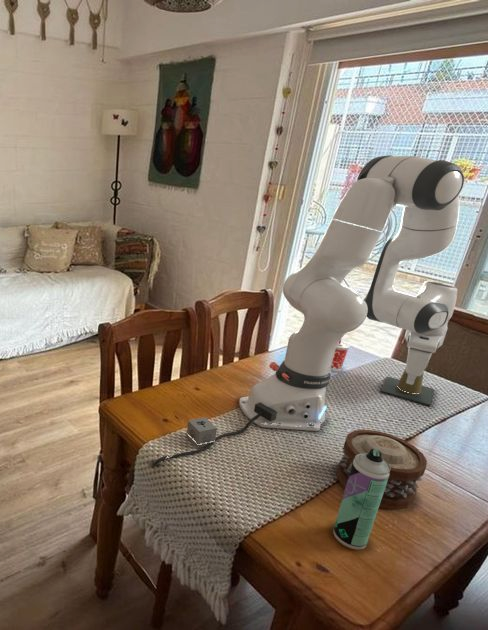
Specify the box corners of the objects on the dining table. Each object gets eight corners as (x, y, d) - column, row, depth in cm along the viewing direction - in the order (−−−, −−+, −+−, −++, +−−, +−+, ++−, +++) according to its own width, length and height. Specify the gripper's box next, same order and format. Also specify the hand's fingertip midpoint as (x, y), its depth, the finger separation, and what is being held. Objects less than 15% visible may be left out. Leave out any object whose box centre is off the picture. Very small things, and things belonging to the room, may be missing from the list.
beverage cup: (318, 365, 150) (327, 327, 145) (332, 363, 152) (341, 325, 147) (333, 373, 145) (343, 334, 140) (348, 371, 146) (358, 332, 141)
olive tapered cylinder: (410, 396, 130) (420, 363, 126) (391, 386, 136) (401, 354, 132) (425, 393, 132) (436, 360, 128) (406, 383, 137) (416, 352, 133)
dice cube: (202, 433, 114) (205, 417, 113) (214, 444, 110) (217, 428, 108) (186, 436, 113) (188, 420, 111) (197, 448, 108) (199, 431, 107)
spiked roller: (450, 468, 86) (374, 467, 86) (434, 510, 90) (361, 510, 90) (398, 423, 100) (332, 423, 100) (385, 462, 104) (322, 462, 104)
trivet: (429, 406, 126) (430, 404, 126) (380, 392, 134) (380, 390, 134) (433, 390, 135) (433, 388, 135) (386, 377, 142) (387, 376, 142)
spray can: (354, 525, 86) (380, 441, 79) (373, 549, 81) (402, 461, 74) (327, 526, 86) (350, 442, 79) (344, 550, 81) (371, 462, 74)
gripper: (414, 322, 137) (402, 362, 142) (407, 343, 122) (394, 386, 127) (440, 327, 133) (426, 368, 138) (436, 349, 119) (421, 394, 124)
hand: (411, 377), depth 133 cm, fingers open, 8 cm apart
